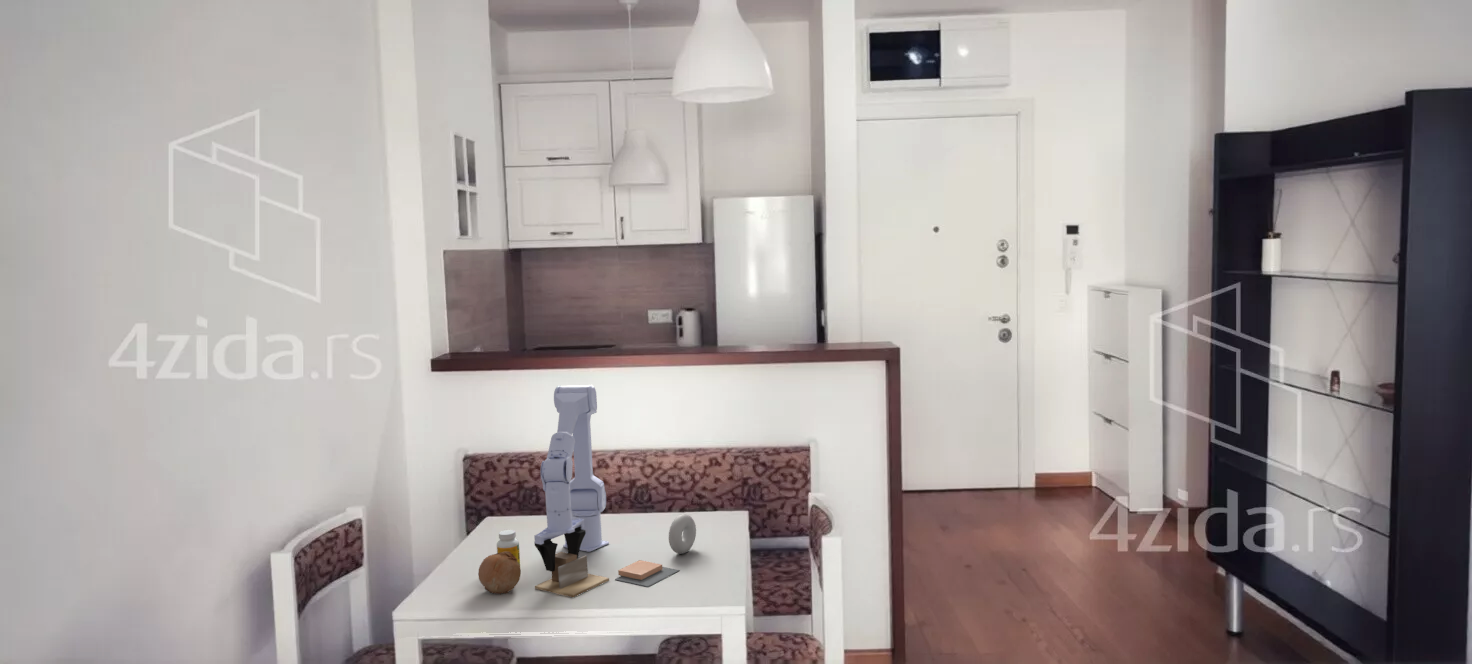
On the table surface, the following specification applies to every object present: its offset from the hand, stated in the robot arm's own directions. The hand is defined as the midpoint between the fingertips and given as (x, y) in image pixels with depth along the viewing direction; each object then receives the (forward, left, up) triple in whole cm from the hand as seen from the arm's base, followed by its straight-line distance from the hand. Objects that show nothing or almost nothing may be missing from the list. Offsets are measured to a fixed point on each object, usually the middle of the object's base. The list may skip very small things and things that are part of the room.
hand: (562, 565), depth 216 cm
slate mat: (+15, +13, -4) cm, 20 cm away
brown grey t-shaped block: (+1, 0, -4) cm, 4 cm away
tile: (+9, +13, -3) cm, 16 cm away
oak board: (+3, 0, -4) cm, 5 cm away
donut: (+13, +30, -4) cm, 33 cm away
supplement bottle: (-18, 0, -4) cm, 18 cm away
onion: (-9, -11, -4) cm, 15 cm away
